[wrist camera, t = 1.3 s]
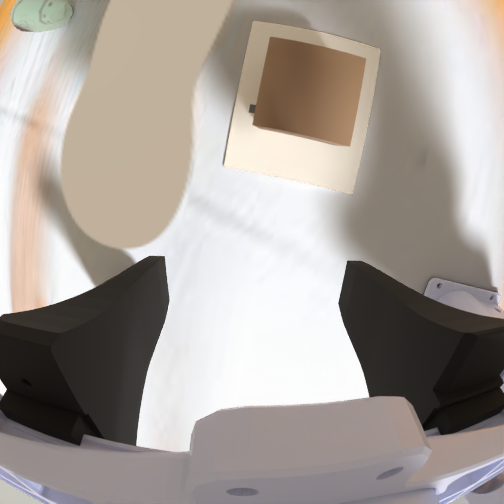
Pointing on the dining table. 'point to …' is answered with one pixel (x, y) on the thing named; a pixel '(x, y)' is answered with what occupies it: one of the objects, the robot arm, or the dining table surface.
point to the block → (309, 91)
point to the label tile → (288, 146)
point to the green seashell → (40, 14)
